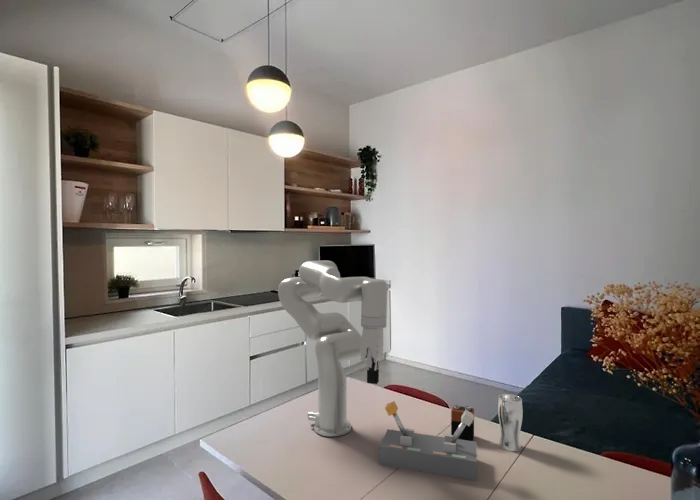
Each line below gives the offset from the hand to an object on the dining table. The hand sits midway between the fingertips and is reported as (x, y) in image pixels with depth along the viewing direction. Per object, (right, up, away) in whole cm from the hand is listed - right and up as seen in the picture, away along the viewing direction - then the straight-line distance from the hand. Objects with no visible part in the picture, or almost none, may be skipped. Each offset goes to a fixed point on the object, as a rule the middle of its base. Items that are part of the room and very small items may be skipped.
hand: (372, 382), depth 116 cm
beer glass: (+42, -21, +3) cm, 47 cm away
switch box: (+16, -21, -5) cm, 26 cm away
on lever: (+21, -15, -7) cm, 27 cm away
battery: (+30, -21, +10) cm, 37 cm away
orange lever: (+10, -15, -3) cm, 18 cm away
